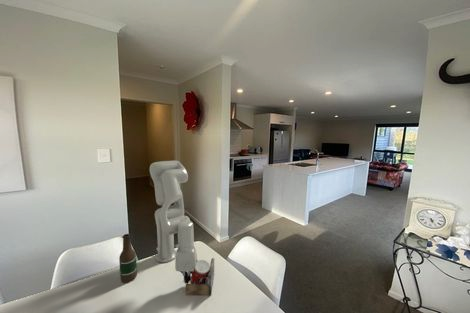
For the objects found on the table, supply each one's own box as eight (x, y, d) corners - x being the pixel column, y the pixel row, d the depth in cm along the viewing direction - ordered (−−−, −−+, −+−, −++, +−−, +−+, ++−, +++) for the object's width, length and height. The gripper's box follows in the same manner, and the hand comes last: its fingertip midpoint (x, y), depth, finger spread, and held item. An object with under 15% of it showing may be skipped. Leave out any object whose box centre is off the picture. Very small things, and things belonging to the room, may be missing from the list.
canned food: (190, 291, 93) (194, 272, 90) (189, 276, 100) (194, 259, 97) (205, 291, 95) (210, 273, 92) (204, 276, 102) (209, 259, 100)
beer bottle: (117, 281, 101) (114, 237, 98) (130, 271, 108) (127, 230, 106) (127, 285, 98) (125, 240, 95) (140, 275, 105) (138, 232, 103)
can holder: (185, 295, 91) (185, 275, 90) (192, 275, 105) (191, 257, 104) (211, 295, 91) (211, 275, 90) (214, 275, 105) (214, 257, 104)
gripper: (168, 250, 92) (169, 287, 93) (199, 251, 91) (200, 287, 93) (173, 242, 99) (175, 276, 101) (202, 242, 99) (203, 276, 100)
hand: (187, 281), depth 97 cm, fingers closed
